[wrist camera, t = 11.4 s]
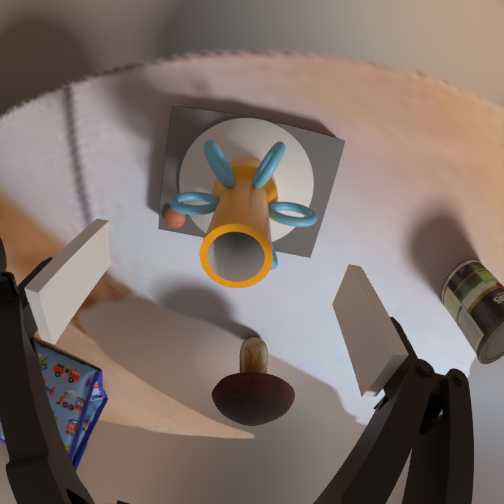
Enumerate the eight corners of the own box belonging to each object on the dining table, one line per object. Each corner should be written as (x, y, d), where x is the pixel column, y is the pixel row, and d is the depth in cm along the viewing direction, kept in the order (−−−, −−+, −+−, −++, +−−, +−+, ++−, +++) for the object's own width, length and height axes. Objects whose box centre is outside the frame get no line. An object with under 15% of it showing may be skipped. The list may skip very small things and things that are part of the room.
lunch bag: (40, 368, 54) (-3, 451, 29) (26, 334, 48) (-30, 425, 23) (109, 398, 57) (75, 496, 31) (102, 367, 50) (55, 483, 25)
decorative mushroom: (248, 304, 41) (243, 391, 27) (303, 337, 44) (314, 419, 30) (207, 344, 45) (192, 422, 31) (259, 371, 48) (258, 445, 34)
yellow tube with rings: (173, 158, 28) (102, 207, 14) (265, 110, 25) (273, 109, 12) (229, 253, 33) (212, 353, 19) (315, 215, 30) (355, 302, 17)
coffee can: (456, 254, 36) (507, 309, 23) (491, 263, 36) (537, 310, 24) (430, 307, 41) (467, 367, 28) (467, 310, 41) (502, 362, 29)
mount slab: (165, 219, 35) (156, 231, 31) (180, 106, 28) (170, 106, 25) (306, 246, 36) (311, 260, 33) (337, 138, 29) (347, 141, 26)
